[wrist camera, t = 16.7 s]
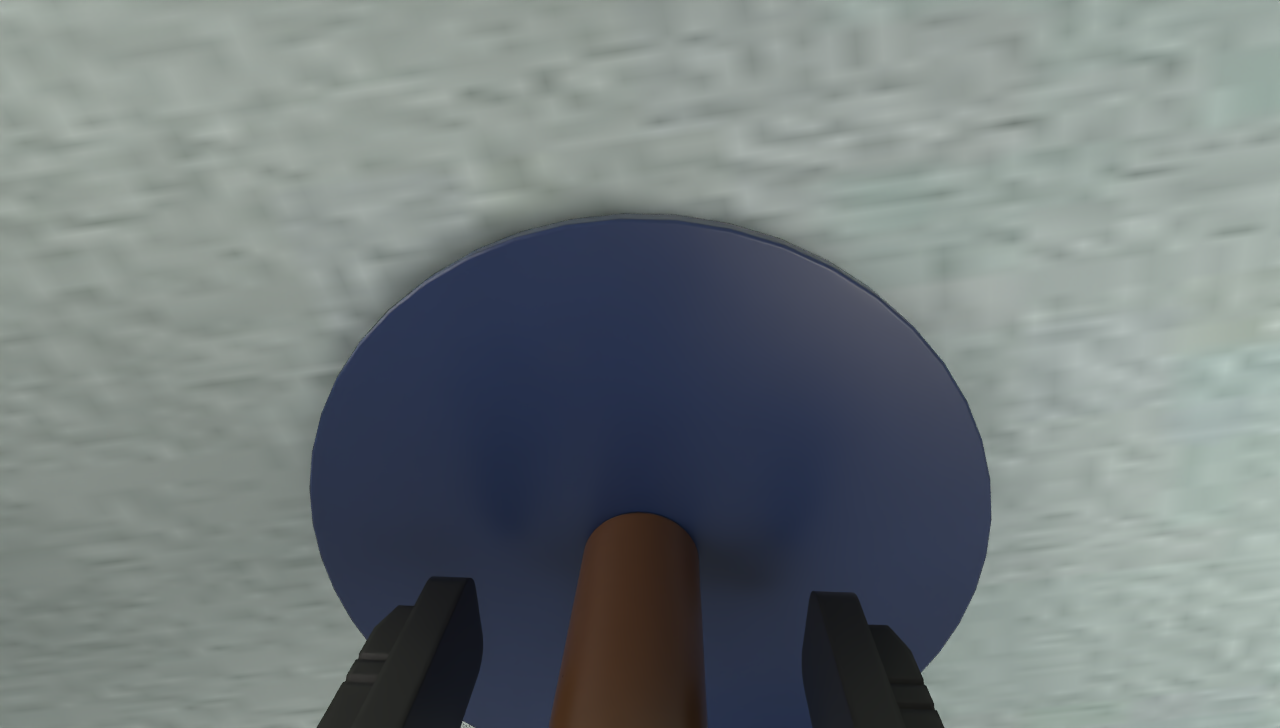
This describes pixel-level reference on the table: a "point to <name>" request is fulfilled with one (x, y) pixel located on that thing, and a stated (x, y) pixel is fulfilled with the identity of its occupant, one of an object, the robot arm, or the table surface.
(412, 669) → the robot arm
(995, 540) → the table surface
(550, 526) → the lid
